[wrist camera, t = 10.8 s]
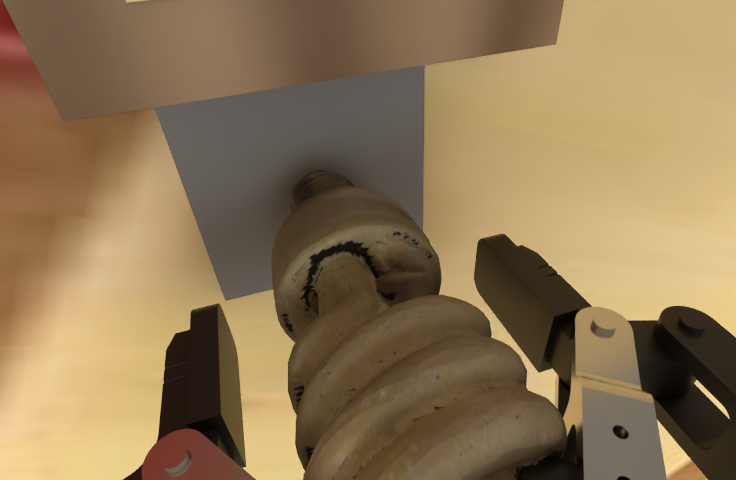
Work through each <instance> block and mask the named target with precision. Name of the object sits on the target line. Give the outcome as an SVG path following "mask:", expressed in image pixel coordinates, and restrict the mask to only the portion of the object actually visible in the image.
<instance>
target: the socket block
mask: <svg viewBox="0 0 736 480" xmlns="http://www.w3.org/2000/svg"><path fill="white" fill-rule="evenodd" d="M3 2H4V4H5V6H6V8H7V10H8V12H9V14H10V16H11V18H12V20H13V22H14V24H15V26H16V28H17V30H18V32H19V34H20V36H21V38H22V40H23V42H24V44H25V46H26V48H27V50H28V52H29V54H30V56H31V58H32V60H33V62H34V64H35V66H36V68H37V70H38V72H39V74H40V76H41V78H42V80H43V82H44V84H45V86H46V88H47V90H48V92H49V94H50V96H51V98H52V100H53V101H54V103H55V105H56V107H57V109H58V111H59V113H60V115H61V117H62V119H63V121H64V122H67V121H73V120H80V119H86V118H92V117H99V116H105V115H111V114H118V113H124V112H130V111H137V110H143V109H149V108H156V107H162V106H168V105H175V104H181V103H187V102H194V101H200V100H206V99H213V98H219V97H225V96H232V95H238V94H244V93H251V92H257V91H263V90H270V89H276V88H282V87H289V86H295V85H301V84H308V83H314V82H320V81H327V80H333V79H339V78H346V77H352V76H358V75H365V74H371V73H377V72H384V71H390V70H396V69H403V68H409V67H415V66H422V65H428V64H434V63H441V62H447V61H453V60H460V59H466V58H472V57H479V56H485V55H491V54H498V53H504V52H510V51H517V50H523V49H529V48H536V47H542V46H548V45H555V44H556V41H557V35H558V30H559V24H560V19H561V13H562V8H563V2H564V0H3Z"/></svg>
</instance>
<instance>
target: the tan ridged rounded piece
mask: <svg viewBox="0 0 736 480" xmlns="http://www.w3.org/2000/svg"><path fill="white" fill-rule="evenodd" d="M290 207H291V211H292V212H291V213H290V214H289V216H288V217H287V218H286V219H285V220H284V222H283V224H282V226H281V228H280V229H279V231H278V233H277V235H276V239H275V242H274V246H273V250H272V258H271V263H272V280H273V290H274V299H275V306H276V311H277V316H278V320H279V322H280V325H281V327H282V328H283V330H284V331H285V333H286V334H287V335H288V336H289V337H290V338H291V339H292V340H293V341H294V342H296V343H295V345H294V346H293V349H292V352H291V355H290V359H289V362H288V392H289V396H290V399H291V403H292V406H293V409H294V411H295V413H296V414H297V418H296V441H295V445H296V449H297V453H298V456H299V459H300V461H301V463H302V466H303V468H304V470H305V473H304V478H303V480H523V479H522V478H521V477H520V474H521V473H522V471H523V470H524V469H528V468H532V466H533V465H536V464H538V462H539V460H542V459H544V458H545V457H548V456H551V455H552V456H556V457H559V458H562V459H563V456H564V452H565V449H566V445H567V441H568V440H567V430H566V426H565V422H564V420H563V417H562V415H561V414H560V412H559V410H558V409H557V408H556V407H555V406H554V405H553V404H552V403H551V402H550V401H549V400H548V399H547V398H545V397H543V396H541V395H538V394H536V393H533V392H530V391H528V390H527V388H526V378H527V370H526V368H525V366H524V364H523V362H522V360H521V358H520V356H519V355H518V354H517V353H516V352H515V351H514V350H513V349H512V348H511V347H510V346H508V345H507V344H505V343H503V342H501V341H498V340H496V339H493V338H491V328H490V322H489V320H488V319H487V317H486V316H485V315H484V314H483V312H482V311H480V310H479V309H478V308H476V307H475V306H473V305H471V304H469V303H468V302H465V301H462V300H460V299H457V298H453V297H449V296H444V295H439V291H440V285H441V269H440V263H439V258H438V255H437V254H436V252H435V251H434V249H433V248H432V246H431V244H430V242H429V240H428V238H427V237H426V236H425V234H424V233H423V232H422V230H421V229H420V228H419V226H418V225H417V224H416V223H415V221H414V220H413V219H412V218H411V216H410V215H409V214H408V212H407V211H406V210H405V209H404V208H403V207H401V206H400V205H399V204H398V203H397V202H396V201H395V200H394V199H392V198H390V197H388V196H387V195H385V194H383V193H381V192H380V191H377V190H373V189H369V188H364V187H355V186H354V184H353V183H352V182H351V181H350V180H348V179H347V178H345V177H343V176H340V175H336V174H333V173H331V172H327V171H322V170H317V171H314V172H310V173H309V174H307V175H306V176H304V177H303V178H302V179H301V180H300V181H299V182H298V183H297V184H296V186H295V187H294V189H293V191H292V202H291V206H290Z"/></svg>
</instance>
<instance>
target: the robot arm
mask: <svg viewBox="0 0 736 480" xmlns="http://www.w3.org/2000/svg"><path fill="white" fill-rule="evenodd" d="M474 280H475V285H476V288H477V290H478V292H479V294H480V295H481V297H482V298H483V299H484V301H485V302H486V303H487V305H488V306H489V307H490V309H491V310H492V311H493V313H494V314H495V315H496V317H497V318H498V319H499V320H500V322H501V323H502V324H503V326H504V327H505V328H506V330H507V331H508V332H509V334H510V335H511V336H512V338H513V339H514V340H515V342H516V343H517V344H518V346H519V347H520V348H521V350H522V351H523V352H524V354H525V355H526V356H527V358H528V359H529V360H530V362H531V363H532V364H533V366H534V367H535V368H536V370H537V371H538V372H542V371H545V370H548V369H551V368H553V369H554V371H555V372H556V373H557V377H556V382H555V407H556V408H557V409H558V410H559V412H560V414H561V415H562V417H563V420H564V422H565V426H566V430H567V440H568V441H567V445H566V449H565V452H564V456H563V459H562V458H559V457H556V456H552V455H551V456H548V457H545V458H544V459H542V460H539V462H538V464H536V465H533V466H532V468H528V469H524V470H523V471H522V473H521V474H520V477H521V478H522V479H523V480H667V478H666V472H665V466H664V460H663V454H662V448H661V442H660V436H659V430H658V424H657V420H658V421H659V422H660V423H661V424H662V425H663V427H664V428H665V429H666V430H667V431H668V433H669V434H670V435H671V436H672V437H673V438H674V440H675V441H676V442H677V443H678V444H679V446H680V447H681V448H682V449H683V450H684V451H685V453H686V454H687V455H688V456H689V457H690V458H691V460H692V461H693V462H694V463H695V464H696V466H697V467H698V468H699V469H700V470H701V471H702V473H703V474H704V475H705V476H706V477H707V479H708V480H736V337H734V336H733V335H732V334H731V333H729V332H728V331H727V330H726V329H725V328H723V327H722V326H721V325H720V324H719V323H717V322H716V321H715V320H714V319H712V318H711V317H710V316H708V315H707V314H705V313H703V312H701V311H699V310H696V309H693V308H689V307H684V306H672V307H668V308H666V309H664V310H663V311H662V313H661V315H660V317H659V319H658V321H627V320H626V319H625V318H624V317H623V316H621V315H620V314H618V313H616V312H614V311H612V310H610V309H607V308H602V307H592V306H591V305H590V304H589V303H588V302H587V301H586V300H585V299H584V298H583V297H582V296H581V295H580V294H579V293H578V292H577V291H576V290H575V289H574V288H573V287H572V286H571V285H570V284H568V283H567V282H566V281H565V280H564V279H563V278H562V277H561V276H560V275H558V274H557V272H556V271H555V270H554V269H553V268H552V267H551V266H549V265H548V263H547V262H546V261H545V260H544V259H543V258H542V257H541V256H540V255H539V254H538V253H536V252H534V251H532V250H530V249H528V248H526V247H524V246H523V245H521V246H516V245H515V244H514V243H513V242H512V241H511V240H510V239H509V238H508V237H507V236H506V235H505V234H499V235H495V236H491V237H487V238H483V239H480V240H479V241H478V245H477V254H476V263H475V272H474ZM696 380H698V381H699V382H700V383H701V384H702V385H703V386H704V387H705V388H706V389H707V390H708V391H709V392H710V393H711V394H712V395H713V396H714V397H715V398H716V399H717V400H718V401H719V402H720V403H721V404H722V405H723V406H724V407H725V409H726V410H727V412H728V414H729V417H730V420H729V419H728V418H727V416H726V415H725V414H724V413H723V412H722V411H721V410H720V409H719V408H718V407H717V406H716V405H715V404H714V403H713V402H712V401H711V400H710V399H709V398H708V397H707V396H706V395H705V394H704V393H703V392H702V391H701V390H700V389H699V388H698V387H697V386H696V385H695V384H694V383H695V381H696ZM243 467H246V459H245V446H244V433H243V420H242V407H241V394H240V380H239V367H238V357H237V351H236V346H235V343H234V339H233V337H232V334H231V331H230V329H229V326H228V323H227V321H226V318H225V315H224V313H223V310H222V308H221V306H220V304H215V305H211V306H207V307H203V308H198V309H194V310H192V311H191V323H190V330H188V331H184V332H180V333H176V334H175V336H174V337H173V339H172V341H171V343H170V344H169V346H168V348H167V350H166V359H165V370H164V384H163V392H162V403H161V413H160V424H159V434H158V440H157V443H156V444H155V445H154V446H153V447H152V448H151V450H150V451H149V452H148V454H147V456H146V458H145V460H144V462H143V464H142V465H141V466H140V467H139V468H138V469H137V470H136V471H135V472H134V473H132V474H131V475H129V476H128V477H126V478H125V479H123V480H256V479H254V478H253V477H252V476H251V475H250V474H249V473H247V472H246V471H245V470H244V469H243Z"/></svg>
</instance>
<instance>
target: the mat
mask: <svg viewBox="0 0 736 480" xmlns="http://www.w3.org/2000/svg"><path fill="white" fill-rule="evenodd" d="M155 109H156V112H157V115H158V118H159V120H160V123H161V126H162V129H163V131H164V134H165V137H166V139H167V142H168V145H169V148H170V150H171V153H172V156H173V159H174V161H175V164H176V167H177V169H178V172H179V175H180V178H181V180H182V183H183V186H184V189H185V191H186V194H187V197H188V199H189V202H190V205H191V208H192V210H193V213H194V216H195V219H196V221H197V224H198V227H199V230H200V232H201V235H202V238H203V240H204V243H205V246H206V249H207V251H208V254H209V257H210V260H211V262H212V265H213V268H214V270H215V273H216V276H217V279H218V281H219V284H220V287H221V290H222V292H223V295H224V298H225V300H230V299H234V298H238V297H242V296H246V295H250V294H254V293H258V292H262V291H266V290H270V289H273V280H272V263H271V258H272V250H273V246H274V242H275V239H276V235H277V233H278V231H279V229H280V228H281V226H282V224H283V222H284V220H285V219H286V218H287V217H288V216H289V214H290V213H291V212H292V211H291V207H290V206H291V202H292V191H293V189H294V187H295V186H296V184H297V183H298V182H299V181H300V180H301V179H302V178H303V177H304V176H306V175H307V174H309V173H310V172H314V171H317V170H322V171H327V172H331V173H333V174H336V175H340V176H343V177H345V178H347V179H348V180H350V181H351V182H352V183H353V184H354V186H355V187H364V188H369V189H373V190H377V191H380V192H381V193H383V194H385V195H387V196H388V197H390V198H392V199H394V200H395V201H396V202H397V203H398V204H399V205H400V206H401V207H403V208H404V209H405V210H406V211H407V212H408V214H409V215H410V216H411V218H412V219H413V220H414V221H415V223H416V224H417V225H418V226H419V228H420V229H421V230H422V232H423V149H424V65H422V66H415V67H409V68H403V69H396V70H390V71H384V72H377V73H371V74H365V75H358V76H352V77H346V78H339V79H333V80H327V81H320V82H314V83H308V84H301V85H295V86H289V87H282V88H276V89H270V90H263V91H257V92H251V93H244V94H238V95H232V96H225V97H219V98H213V99H206V100H200V101H194V102H187V103H181V104H175V105H168V106H162V107H156V108H155Z"/></svg>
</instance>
